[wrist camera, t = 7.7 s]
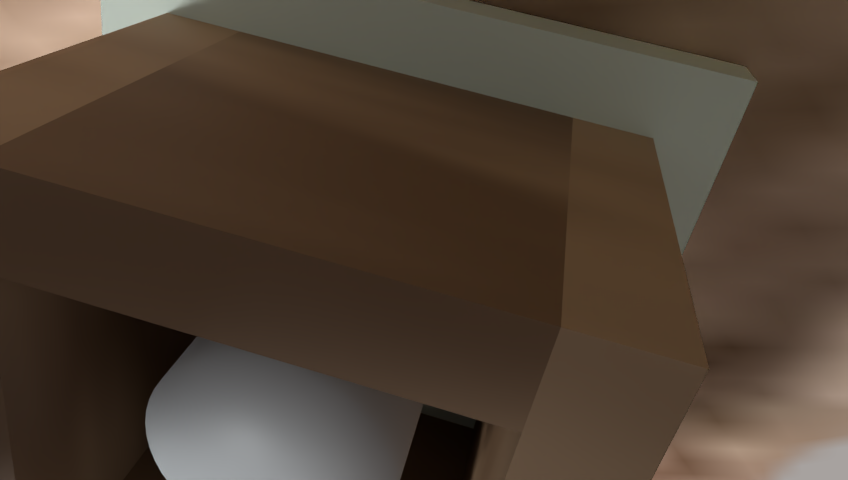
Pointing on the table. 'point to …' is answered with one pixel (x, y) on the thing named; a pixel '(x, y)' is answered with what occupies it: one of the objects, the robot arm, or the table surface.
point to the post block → (462, 68)
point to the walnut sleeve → (330, 256)
